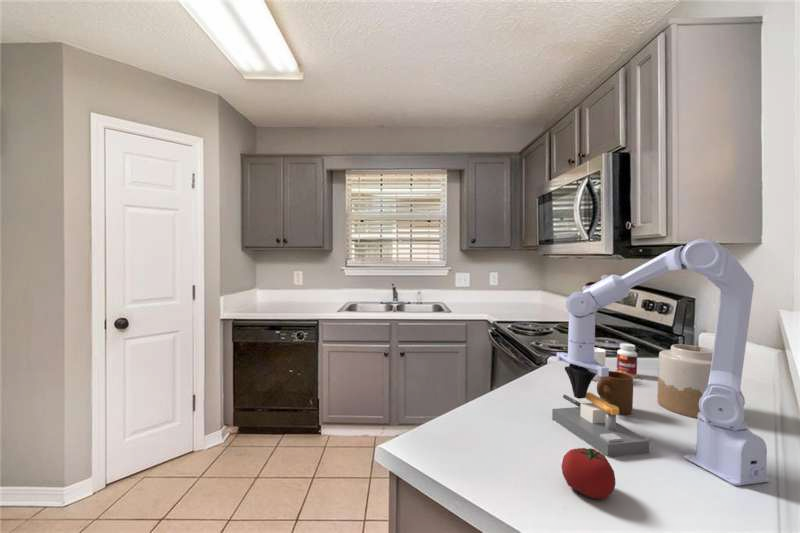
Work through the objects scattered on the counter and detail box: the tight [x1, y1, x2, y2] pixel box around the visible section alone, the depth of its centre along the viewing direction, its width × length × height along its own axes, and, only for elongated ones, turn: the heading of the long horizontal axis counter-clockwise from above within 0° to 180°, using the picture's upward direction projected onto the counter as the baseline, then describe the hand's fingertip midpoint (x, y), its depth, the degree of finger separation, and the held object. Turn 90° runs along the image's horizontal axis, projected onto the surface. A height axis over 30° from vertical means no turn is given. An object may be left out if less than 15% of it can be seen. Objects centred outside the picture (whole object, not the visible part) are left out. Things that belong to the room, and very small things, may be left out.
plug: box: [562, 394, 606, 423], centre depth 89 cm, size 12×4×3 cm, turn 12°
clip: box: [584, 391, 620, 416], centre depth 83 cm, size 10×3×1 cm, turn 6°
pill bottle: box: [615, 342, 638, 378], centre depth 129 cm, size 6×6×11 cm
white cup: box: [592, 346, 607, 382], centre depth 125 cm, size 8×8×10 cm
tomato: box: [561, 447, 617, 500], centre depth 61 cm, size 8×8×7 cm
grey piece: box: [551, 406, 650, 458], centre depth 82 cm, size 18×10×6 cm, turn 12°
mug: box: [596, 370, 634, 416], centre depth 96 cm, size 12×8×9 cm, turn 120°
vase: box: [657, 343, 713, 419], centre depth 99 cm, size 15×15×17 cm
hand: (579, 397), depth 87 cm, fingers closed
